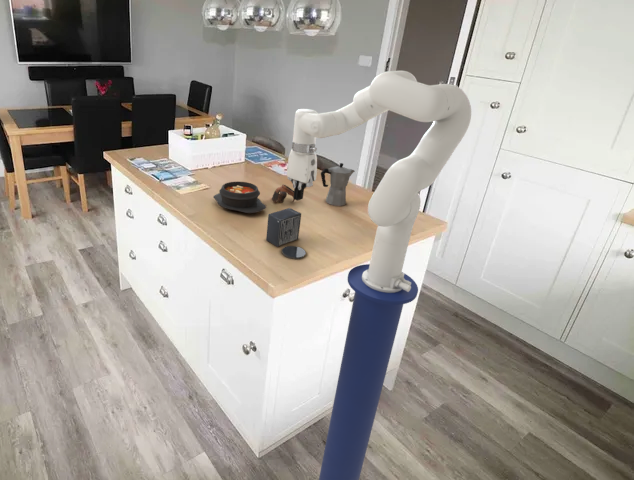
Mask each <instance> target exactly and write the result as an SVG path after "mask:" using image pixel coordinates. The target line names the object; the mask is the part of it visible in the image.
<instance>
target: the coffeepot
mask: <svg viewBox="0 0 634 480" xmlns="http://www.w3.org/2000/svg"><path fill="white" fill-rule="evenodd" d="M354 173H355V170H354V169H352V168H347V167H344V163H343V162H340V163H339V166H332V167H330V168H324V169H323V170H322V171H321V172H320V177H321V182H322V186H323V187H324V188H328V187H329V189H328V192H327V195H326V198H325V202H326V203H327V204H328V205H330V206H335V207H342V206H345V205H347V186H348V183H349V180H350V179H351V178H350V177H351V176H352V175H353V174H354ZM326 174H330V175H329V176H330V177H329V181H330V184H326V183H327V180H326ZM329 185H330V186H329Z"/></svg>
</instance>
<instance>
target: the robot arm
mask: <svg viewBox="0 0 634 480" xmlns="http://www.w3.org/2000/svg"><path fill="white" fill-rule="evenodd" d="M469 99H470V98H469V97H468V95H467V94H466V93H465V91H464V90H463V89H462V88H461V87H459V86H458V85H455V84H450V83H439V84H431V85H430V84H427V83H422V82H419V81H418V80H417V78H416V77H415V75H414V74H412V72H410V71H407V70H387V71H384V72H381V73H379V74H377V75H376V76H375V77H374V78H373V80H372V81H371V83H370V85H367V86H366V87H365V88H363V89H360V90H359V91H357V92H356V93H354V96H353V99H352V102H350V103H349V104H347V105H345V106H343V107H341V108H339V109H337V110H334V111H332V110H331V111H326V112H318V111H317V110H315V109H311V108H300V109H297V110H296V111H295V114H294V123H293V132H292V142H291V149H290V151H289V154H288V159H287V164H286V176H287V180H289V181H290V182H291V184H292V188H293V191H294V197H292V200H293V199H295V201H301V200H303V199H304V191H305V189H307V188H312V187H313V186H314V182H316V181H317V173H318V170H317V169H318V156H317V153H316V152H317V150H318V148H317V147H316V142H317V139H325V138H329V137H333V136H339V135H341V134H344V133H346V132H348V131H351V130H353V129H355V128H357V127H359V126H361V125H363V124H365V123H367V122H368V121H370V120H372V119H374V118H376V117H378V116H380V115H382V114H385V113H386V112H388V111H390V112H392V113H395V114H397V115H400V116H403V117H405V118H408V119H411V120H413V121H417V122H421V123H430V122H431V123H432V124H431V125H430V127H429V128H428V129H427V131H425V133H424V134H423V135H422V137H421V139H420V141H418V144H417V146H416V147H415V149H414V150H413V151H412V152H411V154H410V155H408V156H406V157H403V158H401V159H398V160H397V161H396V162H394V163H392V164H391V165H390V167H389V168H388V169H387V170H386V172H385V173H384V175H383V176H382V178H381V180H380V182H379V183H378V185H377V187H376V188H375V190H374V192H373V194H372V195H371V197H370V199H369V201H368V205H367V214H368V218H369V219H370V220H371V222H372V223H373V224H375V225H376V226H377V227H376V232H375V236H374V241H373V246H372V250H371V255H370V261H369V264H370V265H369V269H368V270H366V271H364V272H363V274H362V280H363V282H364V283H365V284H366V285H367V286H369V287H370V288H372V289H374V290H377V291H380V292H385V293H395V292H398V291H401V290H402V289H403V290H405V291H407V292H409V291H410V289H411V286H410V285H411V282H409V281H407V280H405V279H404V273H405V272H403V268H404V265H405V264H404V263H405V259H406V255H407V251H408V247H409V243H410V240H411V235H412V232H413V227H414V225H415V223H416V221H417V217H418V215H419V212H420V209H421V197H420V194H419V192H421V191H424V190H425V189H427V188H428V187H430V186H432V184H434V182H435V181H436V180H437V178H438V177H439V175H440V173H441V172H442V170H443V169H444V167H445V166H446V164H447V163H448V161H449V160H450V158H451V157H452V155H453V153H454V152H455V151H456V149H457V148H458V146H459V145H460V143H461V142H462V140H463V139H464V137H465V135H466V133H467V131H468V129H469V126H470V124H471V120H472V106H471V102H470V100H469ZM402 272H403V273H402Z"/></svg>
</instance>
